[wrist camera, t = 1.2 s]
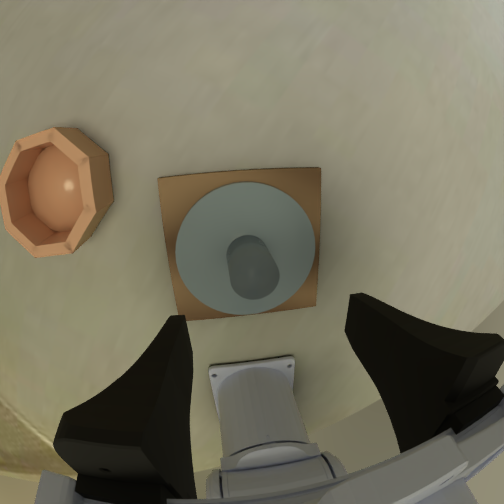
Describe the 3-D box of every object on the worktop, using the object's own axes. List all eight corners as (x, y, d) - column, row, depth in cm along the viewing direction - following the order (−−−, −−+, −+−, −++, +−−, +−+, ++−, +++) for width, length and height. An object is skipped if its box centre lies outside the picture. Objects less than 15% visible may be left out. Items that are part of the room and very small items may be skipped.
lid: (308, 299, 22) (327, 332, 18) (187, 313, 21) (183, 350, 17) (311, 178, 19) (339, 188, 15) (169, 187, 18) (156, 200, 14)
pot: (119, 232, 19) (103, 250, 16) (35, 244, 18) (13, 260, 15) (106, 121, 16) (86, 117, 13) (20, 146, 15) (-7, 149, 12)
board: (313, 302, 23) (315, 306, 23) (180, 317, 22) (179, 321, 21) (317, 167, 19) (321, 168, 19) (159, 177, 18) (157, 178, 17)
